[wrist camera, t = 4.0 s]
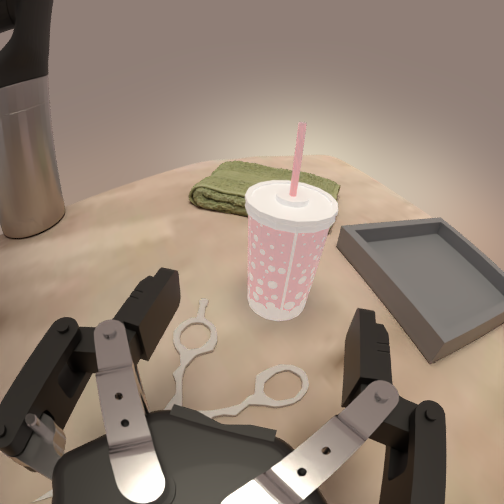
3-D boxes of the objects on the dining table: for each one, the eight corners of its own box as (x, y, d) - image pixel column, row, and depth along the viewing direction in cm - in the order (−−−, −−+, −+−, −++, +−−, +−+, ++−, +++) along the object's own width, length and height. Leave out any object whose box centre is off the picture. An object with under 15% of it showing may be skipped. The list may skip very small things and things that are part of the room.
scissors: (325, 360, 21) (122, 598, 6) (323, 367, 21) (127, 597, 7) (203, 297, 25) (0, 460, 11) (203, 304, 26) (6, 465, 11)
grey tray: (336, 246, 33) (341, 225, 31) (434, 233, 37) (440, 217, 36) (429, 364, 20) (444, 343, 19) (517, 313, 25) (528, 296, 24)
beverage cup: (309, 278, 28) (339, 119, 20) (318, 330, 23) (367, 143, 15) (239, 273, 28) (251, 109, 20) (236, 326, 23) (249, 129, 15)
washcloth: (332, 241, 34) (338, 215, 33) (184, 210, 38) (183, 185, 36) (338, 195, 45) (342, 175, 43) (223, 173, 48) (223, 153, 46)
